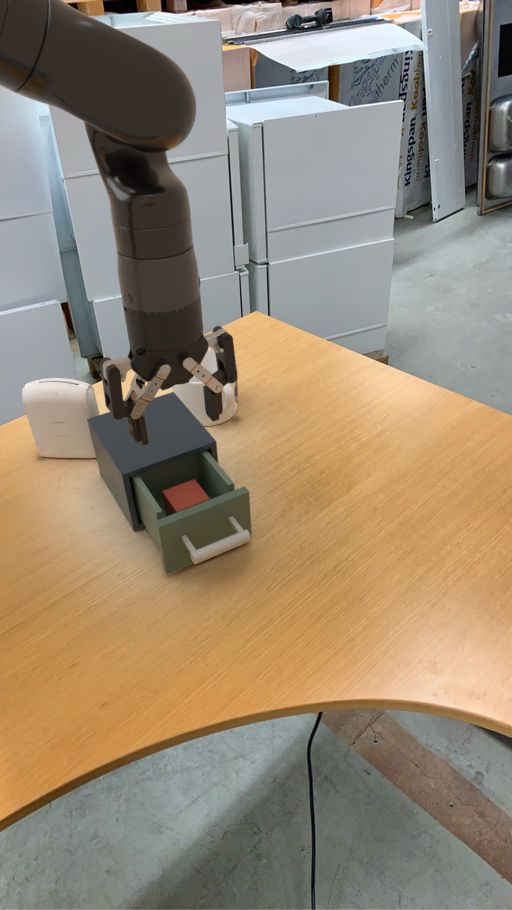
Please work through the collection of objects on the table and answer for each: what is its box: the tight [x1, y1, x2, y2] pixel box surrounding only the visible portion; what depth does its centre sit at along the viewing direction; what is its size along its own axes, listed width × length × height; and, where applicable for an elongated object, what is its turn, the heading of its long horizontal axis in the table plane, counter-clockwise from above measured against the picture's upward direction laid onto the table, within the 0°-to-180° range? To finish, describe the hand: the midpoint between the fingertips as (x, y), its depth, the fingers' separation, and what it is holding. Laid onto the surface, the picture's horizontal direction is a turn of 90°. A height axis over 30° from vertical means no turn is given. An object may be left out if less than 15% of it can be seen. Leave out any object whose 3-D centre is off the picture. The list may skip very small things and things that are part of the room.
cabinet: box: [87, 391, 219, 533], centre depth 88 cm, size 14×13×10 cm
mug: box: [171, 348, 239, 427], centre depth 102 cm, size 13×10×8 cm
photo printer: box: [21, 377, 101, 459], centre depth 94 cm, size 10×4×12 cm, turn 85°
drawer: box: [129, 450, 253, 575], centre depth 79 cm, size 17×11×8 cm
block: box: [162, 479, 210, 517], centre depth 81 cm, size 4×4×4 cm
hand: (178, 429), depth 73 cm, fingers open, 8 cm apart
